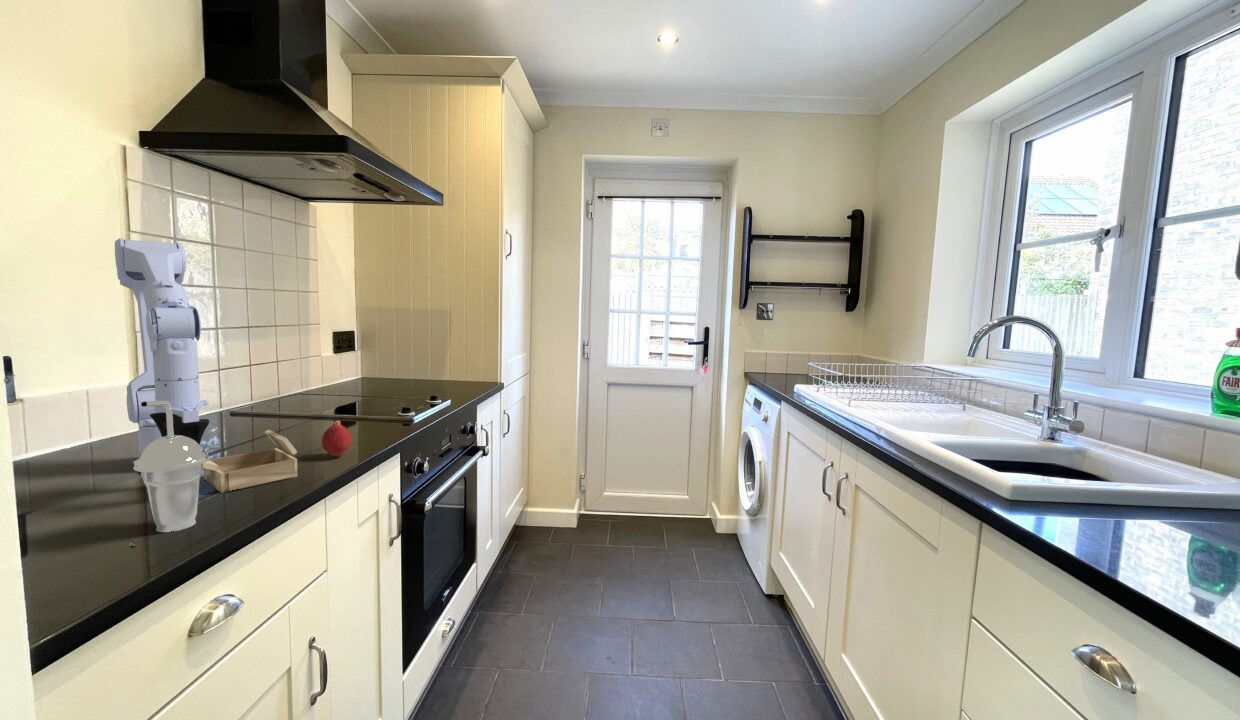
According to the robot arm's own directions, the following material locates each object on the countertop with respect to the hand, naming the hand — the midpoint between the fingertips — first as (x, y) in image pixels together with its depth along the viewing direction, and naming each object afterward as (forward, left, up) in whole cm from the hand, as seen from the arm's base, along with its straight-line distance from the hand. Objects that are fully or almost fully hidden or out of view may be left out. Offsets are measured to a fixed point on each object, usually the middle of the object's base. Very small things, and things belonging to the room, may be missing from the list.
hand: (181, 456), depth 88 cm
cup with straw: (+15, -4, -7) cm, 17 cm away
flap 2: (0, +15, -1) cm, 15 cm away
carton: (0, +10, -6) cm, 12 cm away
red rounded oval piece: (-2, +27, -7) cm, 28 cm away
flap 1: (0, +2, -1) cm, 3 cm away
